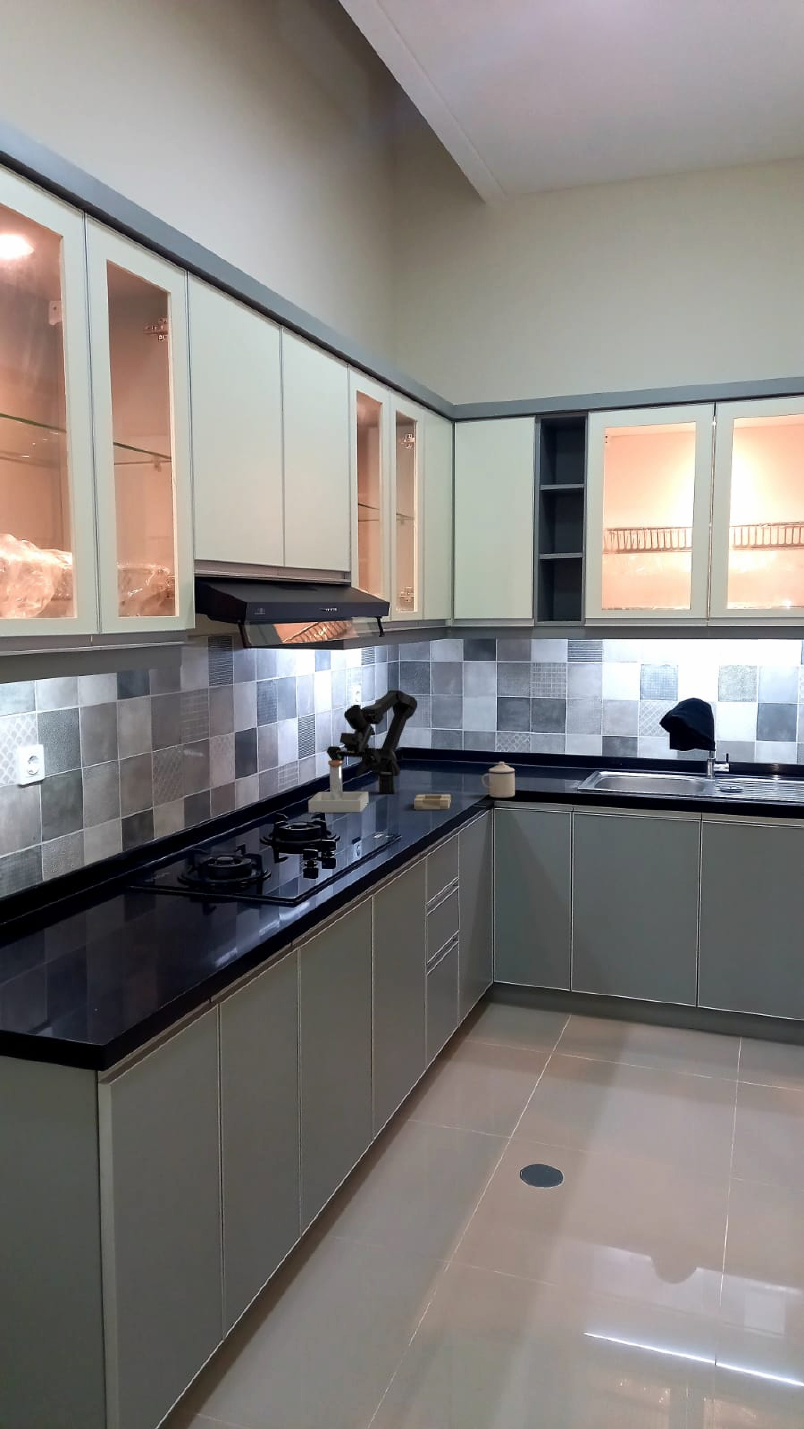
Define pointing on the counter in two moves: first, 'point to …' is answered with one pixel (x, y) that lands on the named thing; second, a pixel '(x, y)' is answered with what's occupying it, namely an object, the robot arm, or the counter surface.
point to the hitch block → (432, 801)
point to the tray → (338, 802)
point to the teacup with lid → (500, 781)
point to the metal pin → (336, 779)
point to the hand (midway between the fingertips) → (345, 774)
